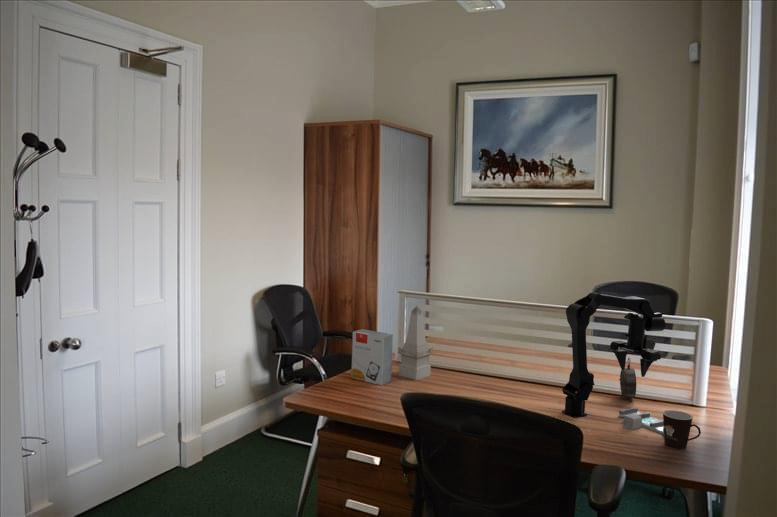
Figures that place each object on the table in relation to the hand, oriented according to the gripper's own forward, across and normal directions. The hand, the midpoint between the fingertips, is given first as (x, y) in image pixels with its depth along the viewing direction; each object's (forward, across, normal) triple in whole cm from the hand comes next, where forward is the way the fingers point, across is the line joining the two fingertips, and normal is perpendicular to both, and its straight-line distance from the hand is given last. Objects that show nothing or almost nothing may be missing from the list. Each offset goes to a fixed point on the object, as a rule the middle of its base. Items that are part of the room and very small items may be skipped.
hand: (632, 373), depth 237 cm
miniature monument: (+15, +69, +52) cm, 88 cm away
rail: (+14, -14, +6) cm, 20 cm away
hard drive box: (+16, +70, +72) cm, 102 cm away
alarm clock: (+14, +10, -9) cm, 19 cm away
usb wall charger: (+14, -14, +15) cm, 25 cm away
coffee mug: (+14, -32, +15) cm, 38 cm away
